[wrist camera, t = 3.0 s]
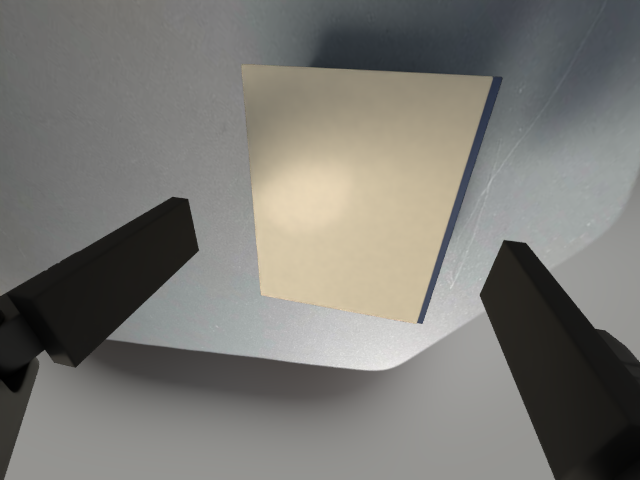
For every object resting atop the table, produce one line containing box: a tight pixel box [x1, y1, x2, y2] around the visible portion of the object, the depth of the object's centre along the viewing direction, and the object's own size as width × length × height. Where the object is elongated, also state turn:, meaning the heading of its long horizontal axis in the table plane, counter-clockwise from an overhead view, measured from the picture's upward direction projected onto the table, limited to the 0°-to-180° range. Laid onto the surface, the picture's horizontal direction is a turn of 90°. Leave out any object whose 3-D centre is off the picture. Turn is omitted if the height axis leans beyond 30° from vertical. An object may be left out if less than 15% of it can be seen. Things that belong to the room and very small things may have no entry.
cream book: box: [241, 64, 502, 324], centre depth 16 cm, size 10×13×2 cm
